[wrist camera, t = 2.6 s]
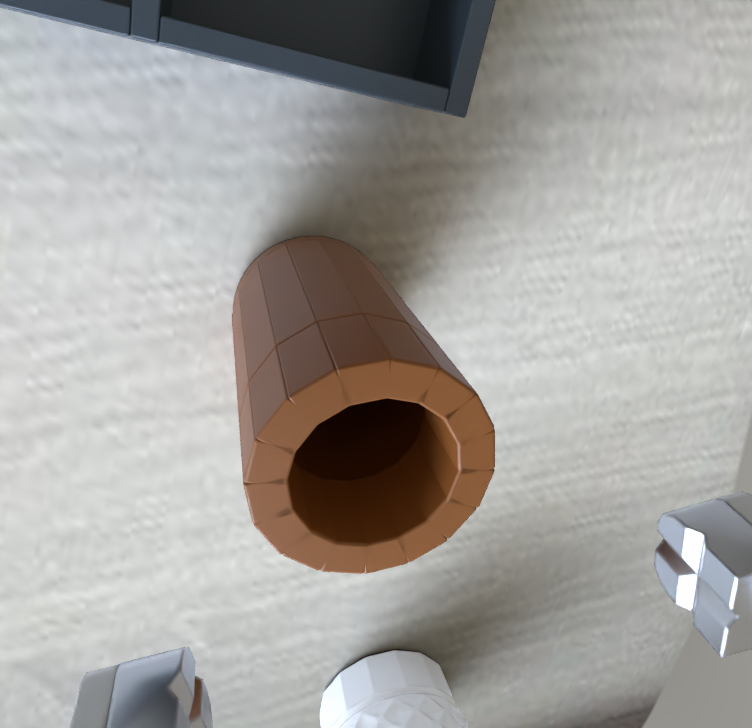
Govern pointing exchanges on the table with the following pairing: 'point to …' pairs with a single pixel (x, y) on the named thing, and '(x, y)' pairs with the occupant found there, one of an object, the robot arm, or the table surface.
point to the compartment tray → (310, 39)
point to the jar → (350, 414)
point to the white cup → (391, 695)
